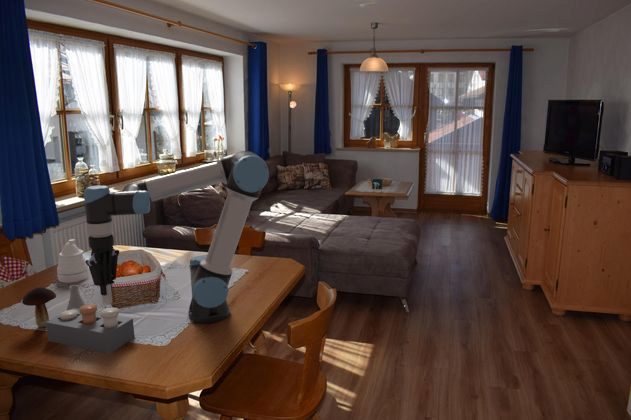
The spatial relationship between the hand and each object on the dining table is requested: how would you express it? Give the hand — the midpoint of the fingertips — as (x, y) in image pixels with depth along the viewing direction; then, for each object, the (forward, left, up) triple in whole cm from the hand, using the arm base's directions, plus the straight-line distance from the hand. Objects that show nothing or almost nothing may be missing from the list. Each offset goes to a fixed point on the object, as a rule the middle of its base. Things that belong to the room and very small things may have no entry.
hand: (107, 302), depth 172 cm
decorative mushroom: (+33, -2, -15) cm, 36 cm away
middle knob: (+9, 0, -11) cm, 14 cm away
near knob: (0, 0, -11) cm, 11 cm away
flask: (+32, -17, -15) cm, 39 cm away
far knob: (+18, 0, -14) cm, 23 cm away
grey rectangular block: (+9, 0, -15) cm, 17 cm away
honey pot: (+61, -45, -15) cm, 77 cm away
